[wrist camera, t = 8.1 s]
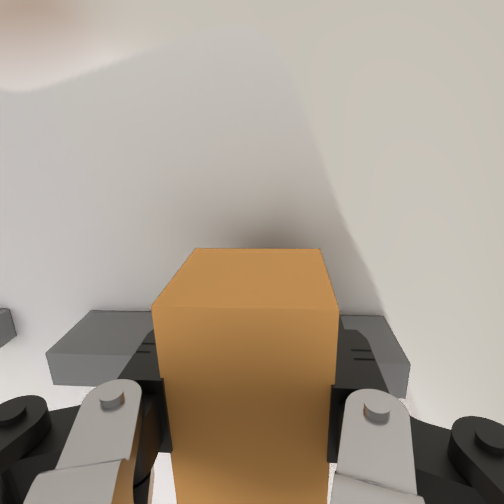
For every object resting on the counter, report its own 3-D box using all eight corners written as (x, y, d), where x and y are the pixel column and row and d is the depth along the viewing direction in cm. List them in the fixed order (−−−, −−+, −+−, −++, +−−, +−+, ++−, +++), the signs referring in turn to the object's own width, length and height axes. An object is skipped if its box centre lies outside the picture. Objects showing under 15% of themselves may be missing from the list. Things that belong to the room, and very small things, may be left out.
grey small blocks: (-39, 341, 24) (-125, 397, 19) (-51, 308, 23) (-144, 356, 18) (379, 353, 21) (409, 420, 16) (383, 316, 20) (417, 375, 15)
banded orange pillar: (218, 567, 16) (196, 709, 12) (191, 248, 11) (138, 312, 7) (309, 575, 16) (318, 725, 12) (324, 248, 11) (349, 317, 7)
